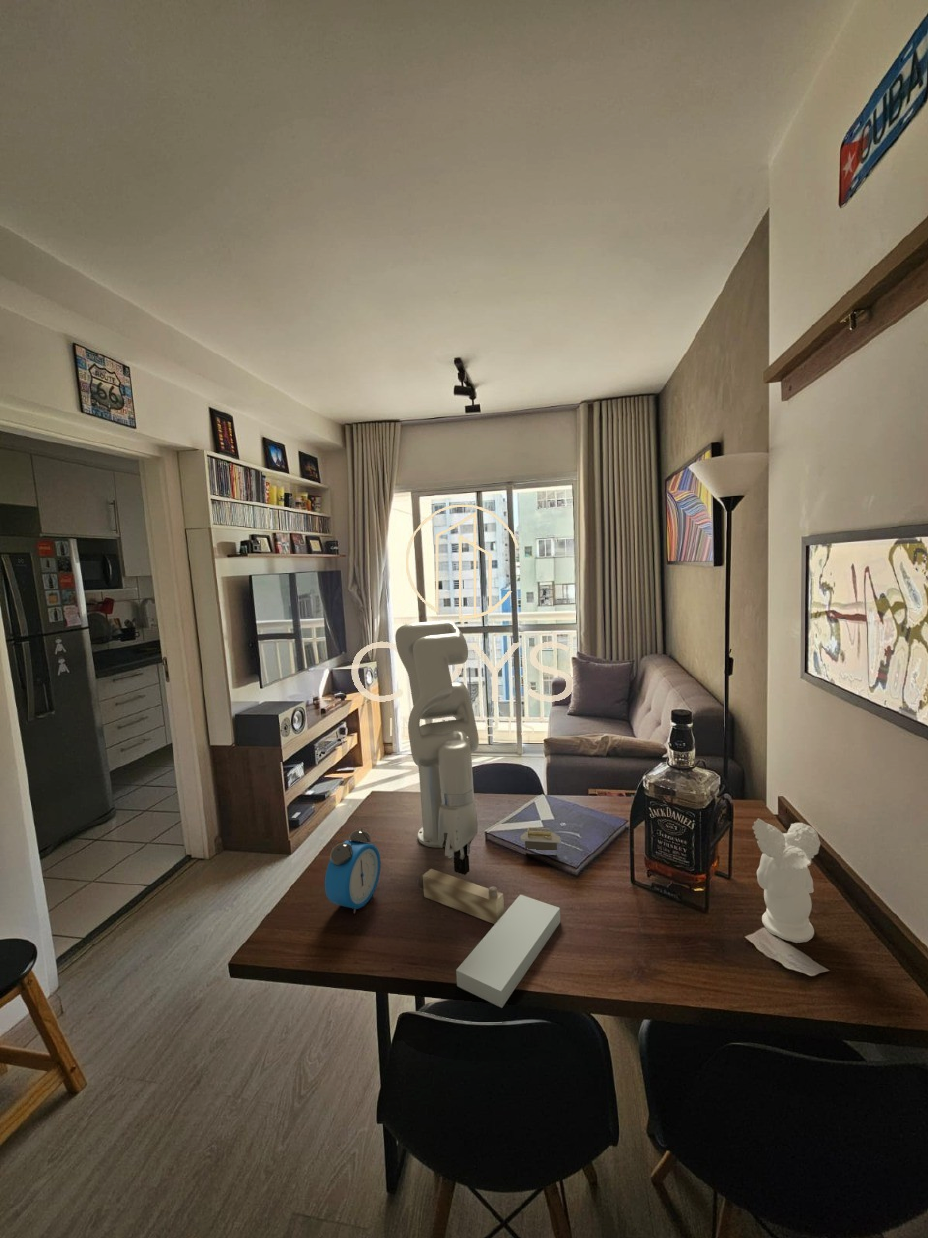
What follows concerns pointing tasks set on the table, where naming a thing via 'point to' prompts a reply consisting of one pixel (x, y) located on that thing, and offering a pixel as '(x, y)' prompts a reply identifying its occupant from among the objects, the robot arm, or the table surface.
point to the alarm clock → (353, 871)
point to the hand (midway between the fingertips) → (462, 871)
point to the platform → (540, 840)
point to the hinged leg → (463, 895)
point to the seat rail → (508, 950)
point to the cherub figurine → (787, 878)
